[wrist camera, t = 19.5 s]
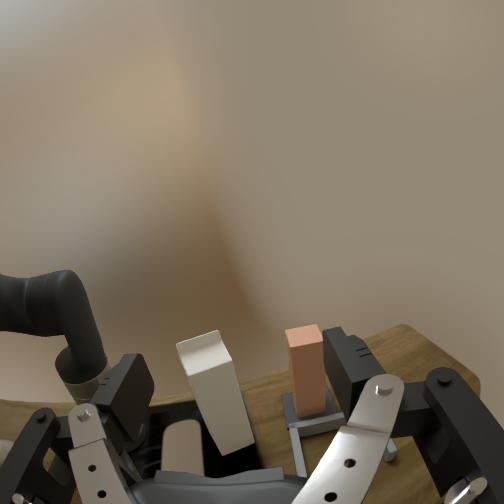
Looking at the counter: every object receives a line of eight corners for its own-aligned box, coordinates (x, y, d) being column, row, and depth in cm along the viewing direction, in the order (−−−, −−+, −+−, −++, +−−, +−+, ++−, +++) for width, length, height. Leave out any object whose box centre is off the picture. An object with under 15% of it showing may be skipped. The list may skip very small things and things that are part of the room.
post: (297, 417, 40) (290, 347, 36) (293, 399, 45) (285, 330, 41) (325, 411, 40) (324, 340, 36) (319, 393, 45) (316, 324, 41)
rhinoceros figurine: (35, 492, 17) (-31, 431, 15) (25, 499, 18) (-30, 449, 15) (49, 466, 25) (-11, 410, 22) (36, 478, 25) (-15, 431, 23)
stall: (298, 486, 27) (298, 478, 26) (289, 433, 38) (288, 423, 37) (393, 459, 27) (397, 450, 26) (370, 413, 37) (372, 403, 37)
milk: (255, 442, 37) (228, 339, 31) (222, 456, 34) (180, 356, 29) (240, 421, 42) (212, 320, 37) (209, 433, 40) (170, 333, 34)
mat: (287, 429, 39) (287, 427, 38) (281, 396, 47) (281, 394, 47) (338, 418, 38) (338, 416, 38) (326, 387, 47) (326, 385, 47)
